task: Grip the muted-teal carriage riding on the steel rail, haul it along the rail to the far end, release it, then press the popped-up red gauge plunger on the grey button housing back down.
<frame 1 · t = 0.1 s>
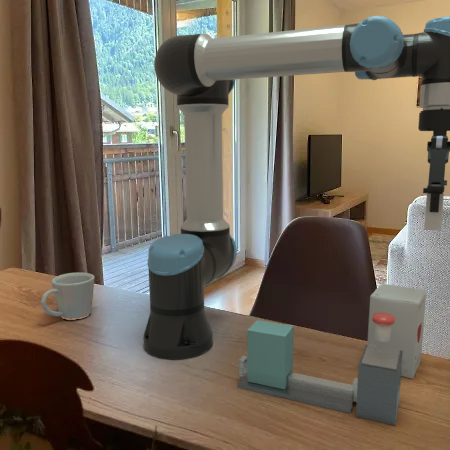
hand: (433, 223, 89), 28 cm above the table, fingers open, 13 cm apart
mug: (68, 319, 118), on the table
grey button housing: (378, 407, 78), on the table
plunger: (383, 327, 75), point 14 cm above the table, slide at 3.0 cm
rail: (296, 389, 83), on the table
supplement box: (394, 365, 92), on the table
carriage: (270, 354, 84), point 6 cm above the table, slide at -5.0 cm
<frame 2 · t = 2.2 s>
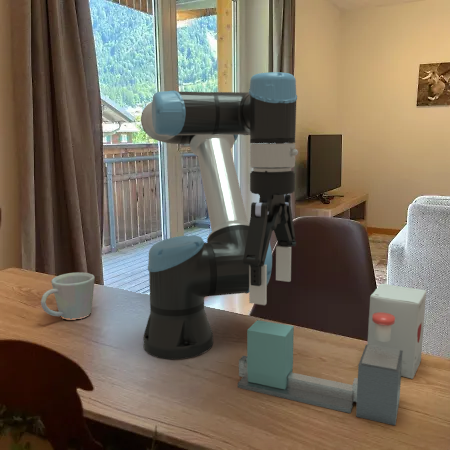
hand: (271, 291, 82), 18 cm above the table, fingers open, 13 cm apart
nothing on the table moved.
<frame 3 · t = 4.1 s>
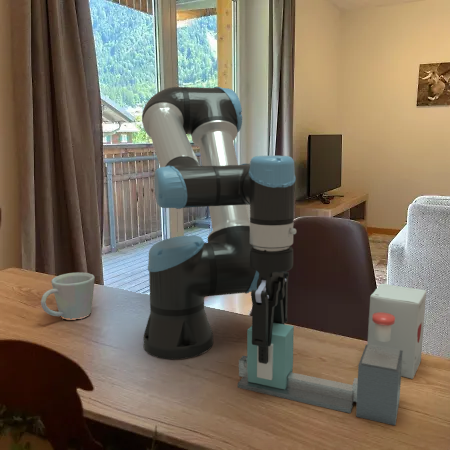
hand: (270, 370, 85), 3 cm above the table, fingers closed on carriage, 5 cm apart
carriage: (270, 354, 84), point 6 cm above the table, slide at -5.0 cm, touching gripper
everything else where it was.
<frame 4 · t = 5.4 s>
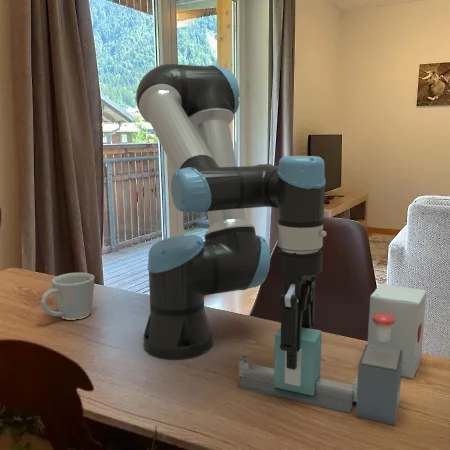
hand: (297, 375, 83), 3 cm above the table, fingers closed on carriage, 5 cm apart
carriage: (297, 359, 82), point 6 cm above the table, slide at 0.1 cm, touching gripper
everything else where it was.
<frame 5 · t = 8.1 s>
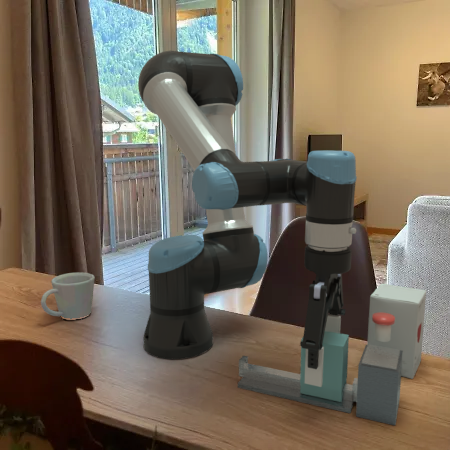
hand: (323, 365, 81), 6 cm above the table, fingers open, 13 cm apart
carriage: (324, 364, 80), point 6 cm above the table, slide at 4.8 cm
everything else where it was.
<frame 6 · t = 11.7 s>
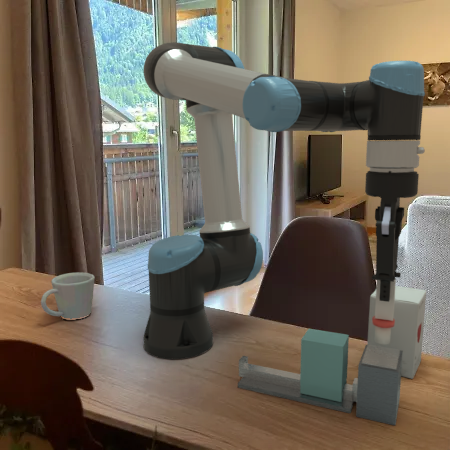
hand: (384, 317, 75), 16 cm above the table, fingers closed
plunger: (382, 330, 75), point 14 cm above the table, slide at 2.5 cm, touching gripper
everything else where it was.
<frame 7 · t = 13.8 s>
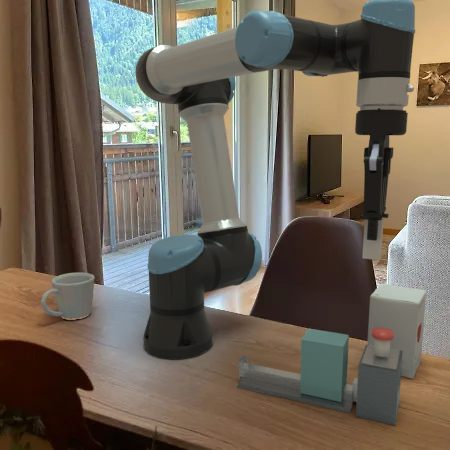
hand: (371, 257, 76), 25 cm above the table, fingers closed
plunger: (382, 342, 76), point 12 cm above the table, slide at 0.4 cm
everything else where it was.
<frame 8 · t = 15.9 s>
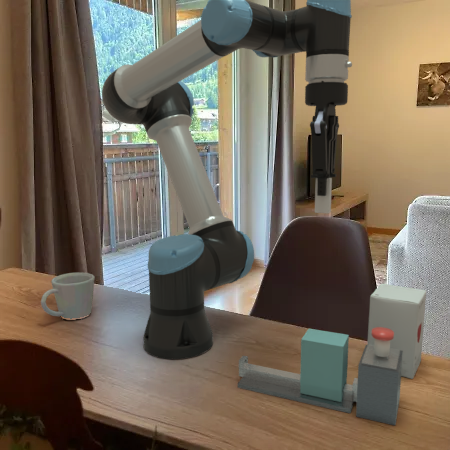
hand: (322, 212, 88), 30 cm above the table, fingers closed
nothing on the table moved.
at the end: carriage slide at 4.8 cm; plunger slide at 0.4 cm; the gripper is holding nothing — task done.
